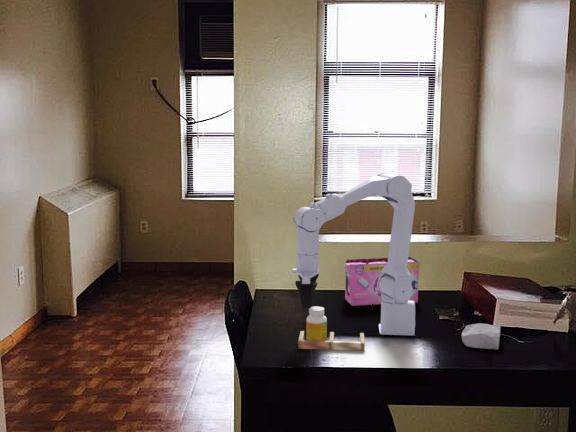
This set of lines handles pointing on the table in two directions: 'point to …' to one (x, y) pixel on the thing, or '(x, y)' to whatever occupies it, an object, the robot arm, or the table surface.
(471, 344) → the stone block
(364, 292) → the gum box
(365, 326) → the table surface
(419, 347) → the table surface
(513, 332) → the table surface
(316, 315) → the supplement bottle
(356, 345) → the e-shaped wooden frame
